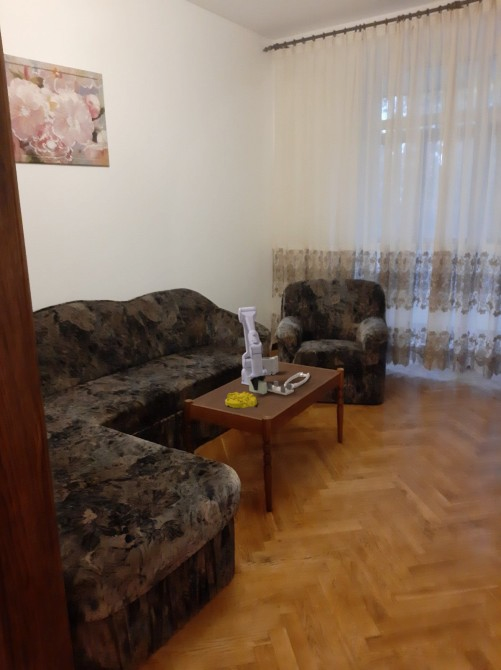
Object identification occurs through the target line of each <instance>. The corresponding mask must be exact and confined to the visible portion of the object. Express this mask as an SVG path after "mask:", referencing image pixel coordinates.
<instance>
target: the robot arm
mask: <svg viewBox="0 0 501 670" xmlns="http://www.w3.org/2000/svg"><path fill="white" fill-rule="evenodd" d="M257 313H258V310H257V307H256V306H255V305H254V306H245V307H239V308H238V309H237V314H238V321H239V323H241V324H242V327H243V334H244V343H245V350H246V352H244V353H243V354H242V356H241V362H242V370H241V382H240V384H242V385H246V386H249V380H250V381H251V383H252V385H253V388H254V390H256V391H257V390H258V382H259V381H263V382H265V379H266V376H267V375H264V374H267V370H262V358H263V357H262V354H263V351H264V348H263V344H262V342H261V340H260V336H259V333H258V331H256V325H255V322H256V319H257V315H258V314H257Z"/></svg>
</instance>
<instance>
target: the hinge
mask: <svg viewBox="0 0 501 670" xmlns="http://www.w3.org/2000/svg"><path fill="white" fill-rule="evenodd" d="M262 370H267V374H264V375H265V376H272V375H276V373H279V356H278V355H275V356H272V357H262ZM271 374H272V375H271Z"/></svg>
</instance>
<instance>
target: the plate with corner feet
mask: <svg viewBox="0 0 501 670" xmlns="http://www.w3.org/2000/svg"><path fill="white" fill-rule="evenodd" d="M291 384H292V383H290V384H289V383H288V384H287V387H286V388H285V387H284V385H282V386H279V381H278V380H273V383H269V382H268V383H267V392H271V393H274V394H278V395H284V396H287V395H289V394H292V393H294V392H295V391H294V388H293V389H291V388H292V387H291Z"/></svg>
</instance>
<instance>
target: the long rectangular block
mask: <svg viewBox="0 0 501 670" xmlns="http://www.w3.org/2000/svg"><path fill="white" fill-rule="evenodd" d="M248 387H249V389H248V391H249V392H253V393H257V394H260V395H265V394H267V393H268V391H267V388H268V383H267V381H264V382H263V381H259V382H258V390H257V391H256V390H254V388H253V385H252V383H251V381H250V380H249V385H248Z"/></svg>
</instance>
